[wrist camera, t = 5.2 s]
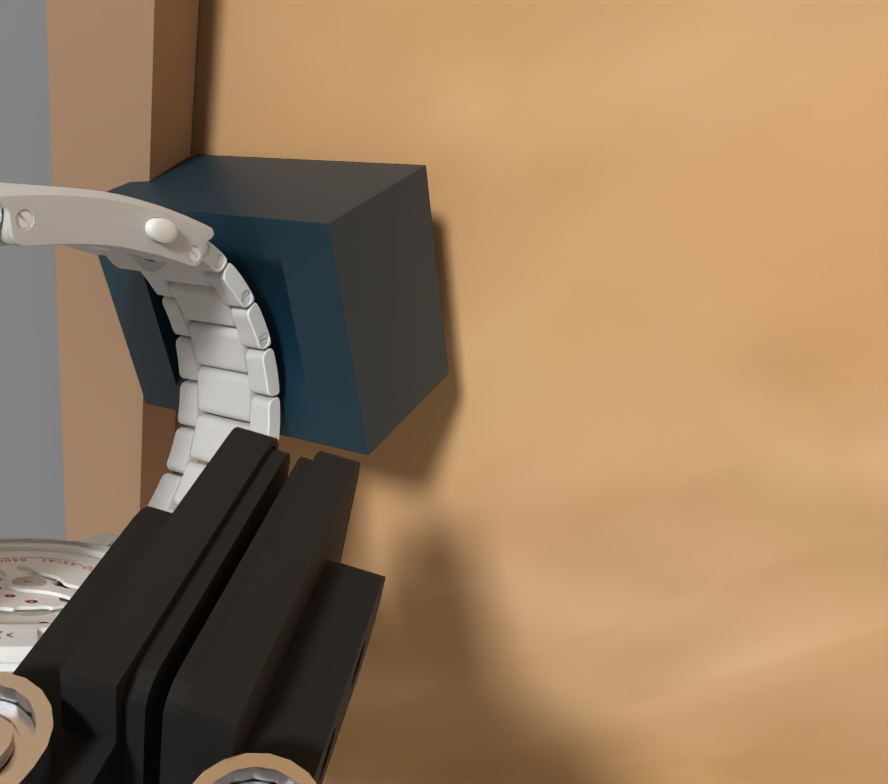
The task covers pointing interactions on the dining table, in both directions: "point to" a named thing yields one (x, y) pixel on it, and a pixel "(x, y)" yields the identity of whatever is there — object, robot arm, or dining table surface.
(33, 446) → the mat
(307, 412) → the watch
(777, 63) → the dining table surface
